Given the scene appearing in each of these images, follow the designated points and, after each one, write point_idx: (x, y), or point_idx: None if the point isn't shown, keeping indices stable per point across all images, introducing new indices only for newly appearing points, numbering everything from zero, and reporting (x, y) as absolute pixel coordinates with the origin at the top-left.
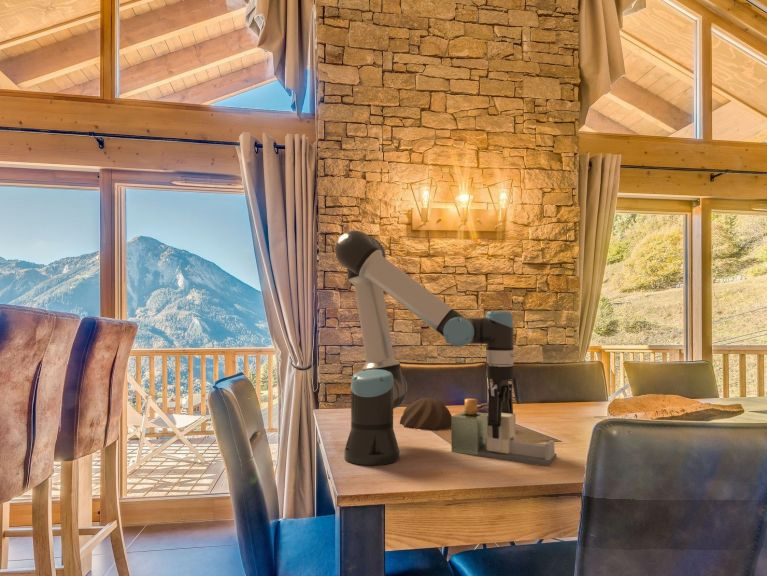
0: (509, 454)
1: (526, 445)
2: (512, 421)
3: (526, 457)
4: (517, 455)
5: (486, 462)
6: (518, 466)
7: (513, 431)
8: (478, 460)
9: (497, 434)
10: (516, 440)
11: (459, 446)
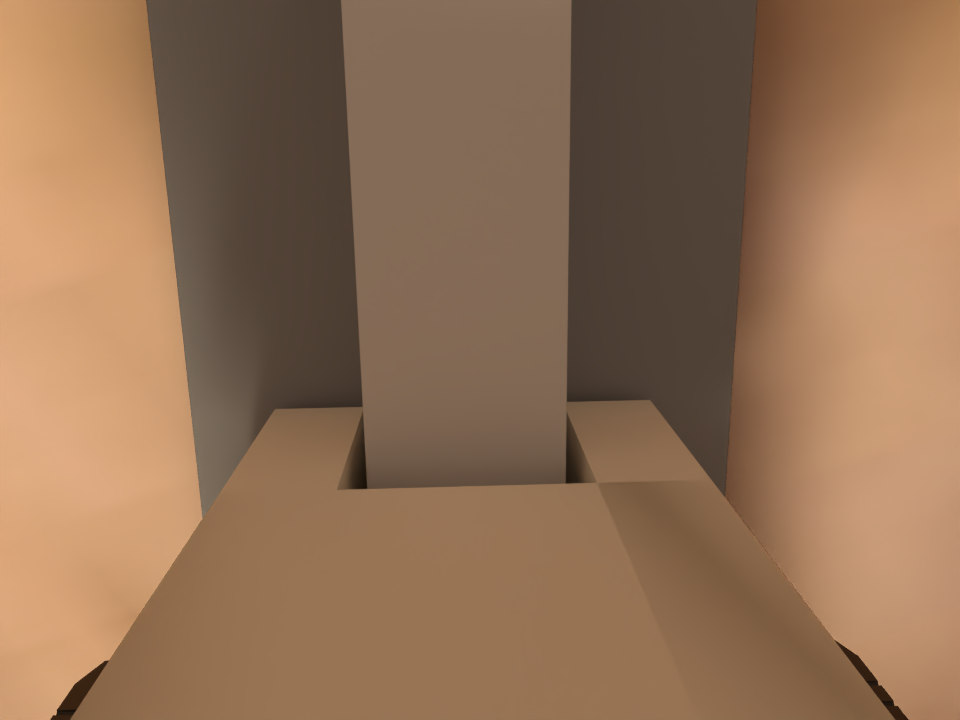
0: (619, 384)
1: (563, 146)
2: (384, 683)
3: (656, 112)
4: (612, 268)
5: (944, 537)
6: (950, 131)
7: (344, 535)
8: (899, 643)
9: (872, 686)
10: (368, 407)
11: None
